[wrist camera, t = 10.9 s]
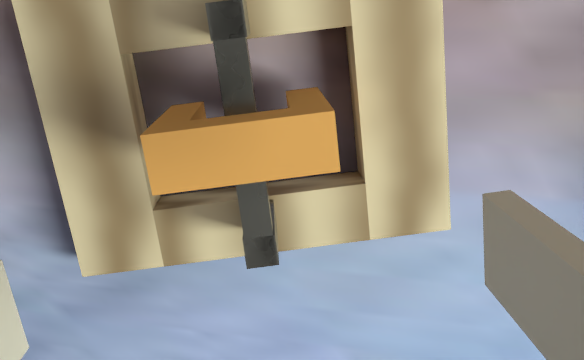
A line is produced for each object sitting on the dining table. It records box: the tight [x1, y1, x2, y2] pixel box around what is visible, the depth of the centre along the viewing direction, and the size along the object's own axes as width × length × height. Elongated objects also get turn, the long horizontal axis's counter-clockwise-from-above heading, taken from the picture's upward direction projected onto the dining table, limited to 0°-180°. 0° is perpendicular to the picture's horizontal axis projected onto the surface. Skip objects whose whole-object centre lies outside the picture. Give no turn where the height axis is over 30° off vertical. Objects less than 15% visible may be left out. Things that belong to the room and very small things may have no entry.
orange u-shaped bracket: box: [140, 87, 341, 196], centre depth 30 cm, size 9×3×9 cm, turn 97°
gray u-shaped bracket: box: [205, 0, 279, 269], centre depth 33 cm, size 2×14×9 cm, turn 7°
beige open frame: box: [11, 0, 451, 277], centre depth 35 cm, size 25×18×3 cm
